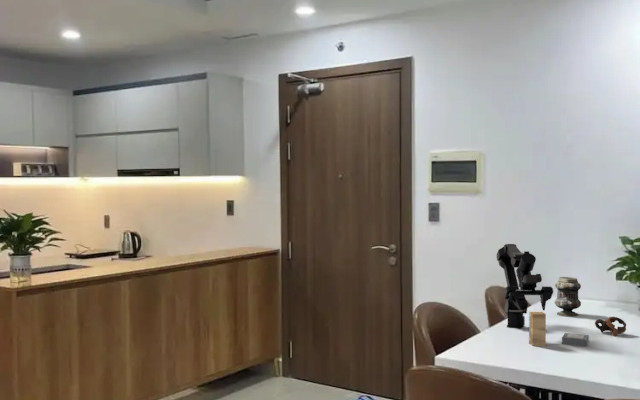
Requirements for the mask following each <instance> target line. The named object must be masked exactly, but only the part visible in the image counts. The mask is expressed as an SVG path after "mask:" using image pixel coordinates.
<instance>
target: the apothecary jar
mask: <svg viewBox="0 0 640 400" xmlns="http://www.w3.org/2000/svg"><path fill="white" fill-rule="evenodd" d="M554 286H555V288H556V290H557V293H556V298H555V300H554V301H553V303H554V305H555V306H556V308H559V309H562V310H560V311H558V312H556V315H558V316H562V317H578V316H579V315H580V314H579V313H578V312H575V311H573V310H577V309H579V308H580V307H581V305H582V302H581V300H580V299H579V290H581V287H582V285H581V284H580V283H579V281H578V278H577V277H573V276H559V277H558V279H557V281H556V282H555V284H554Z"/></svg>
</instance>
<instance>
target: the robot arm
mask: <svg viewBox="0 0 640 400" xmlns="http://www.w3.org/2000/svg"><path fill="white" fill-rule="evenodd" d="M536 260H537V258H536V256H535V255H533V254H532V253H531V252H530V251H527V250H525V251H523V252H522V251H520V250H519V248H518V246H517V244H515V243H506V244H504V245H503V246H502V247H500V248H498V250H497V253H496V261H498V265H499V267H501V268H502V269H503V272H504V277H505V280H506V285H507V286H506V287H505V290H504V294H503V295H504V299H505V304H504V312H505V313H506V314H507V325H506V327H507V328H514V329H515V328H517V329H523V328H524V327H525V322H526V317H525V315H526V314H527V313H528V305H529V303H528V300H527V299H526V296H540V303H541V309H542V312H543V311H545V310H546V305H547V301H549V300H551V299H552V297H553V294H554V288H553V287H552V286H543V285H542V286H541V288H540V289H536V288H537V287H538V286H537V284H538V283H541V282H542V280H543V279H542V277H543V276H542V273H536V274H532V271H533V269H534V267H535V263H536ZM515 268H516V269H515ZM524 314H525V315H524Z"/></svg>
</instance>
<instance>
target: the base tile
mask: <svg viewBox="0 0 640 400" xmlns="http://www.w3.org/2000/svg"><path fill="white" fill-rule="evenodd" d="M589 336H590V335H589V334H580V333H571V332H569V333H567V332H565V333H564V334H563V335H562V337H561V344H562V345H570V346H579V347H580V346H582V347H587V346H588V344H589V342H590V337H589Z"/></svg>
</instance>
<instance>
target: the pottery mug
mask: <svg viewBox="0 0 640 400" xmlns="http://www.w3.org/2000/svg"><path fill="white" fill-rule="evenodd" d="M616 321H617V322H618V324H620V325H623V326H617V328H616V325H615V324H614V323H616ZM594 326H595V327H596V328H597V329H598V330H599V331H600V332H601V333H604V332H606V331H607V332H611V336H613V337H617V336H618V335H621V334H623V333H625V332H626V331H627V323H626V322H625V321H624V320H623V319H622V318H619V317H616V316H609V317H608V318H607V319H604V320H603V319H602V318H598V319H596V320H595V321H594Z"/></svg>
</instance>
